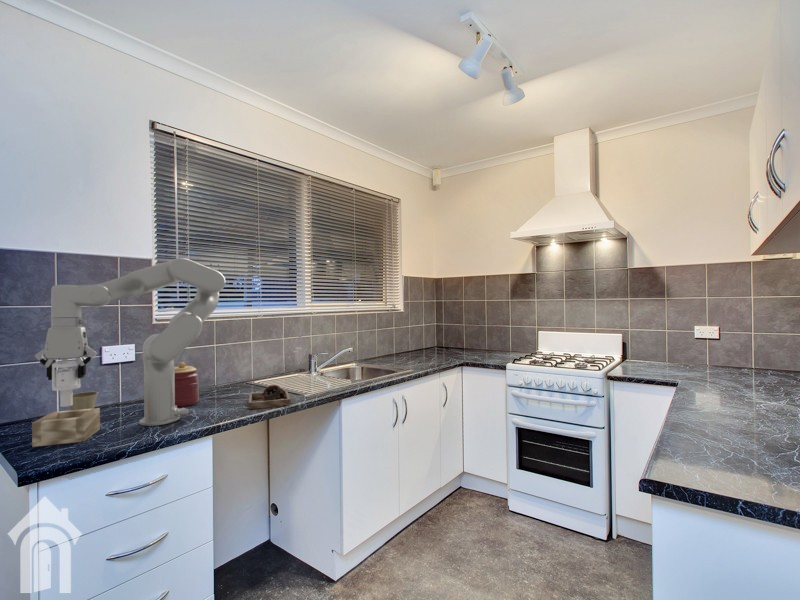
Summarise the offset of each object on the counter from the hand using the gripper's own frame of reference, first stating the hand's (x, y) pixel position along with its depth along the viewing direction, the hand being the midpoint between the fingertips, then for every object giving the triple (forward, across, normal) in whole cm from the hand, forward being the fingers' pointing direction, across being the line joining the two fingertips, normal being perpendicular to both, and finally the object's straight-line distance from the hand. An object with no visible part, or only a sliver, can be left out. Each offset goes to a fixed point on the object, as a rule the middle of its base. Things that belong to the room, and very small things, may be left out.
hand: (66, 378), depth 129 cm
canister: (+19, -27, -35) cm, 48 cm away
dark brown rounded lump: (+19, -64, -23) cm, 71 cm away
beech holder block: (+19, 0, 0) cm, 19 cm away
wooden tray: (+18, -62, -23) cm, 69 cm away
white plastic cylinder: (+9, 0, 0) cm, 9 cm away
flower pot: (+19, +5, -26) cm, 33 cm away
